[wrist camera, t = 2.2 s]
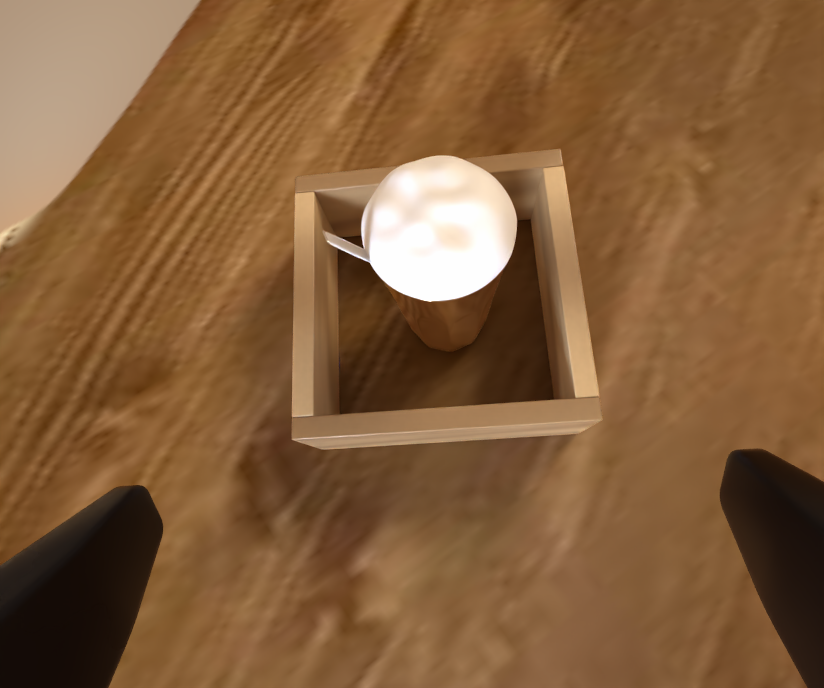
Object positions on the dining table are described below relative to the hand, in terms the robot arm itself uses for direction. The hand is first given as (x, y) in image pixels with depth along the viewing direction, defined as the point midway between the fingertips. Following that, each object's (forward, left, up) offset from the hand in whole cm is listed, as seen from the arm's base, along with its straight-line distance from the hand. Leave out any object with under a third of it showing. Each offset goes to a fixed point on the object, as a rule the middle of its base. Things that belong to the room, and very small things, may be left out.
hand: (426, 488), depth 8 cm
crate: (+6, -4, -13) cm, 15 cm away
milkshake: (+6, -4, -14) cm, 15 cm away
